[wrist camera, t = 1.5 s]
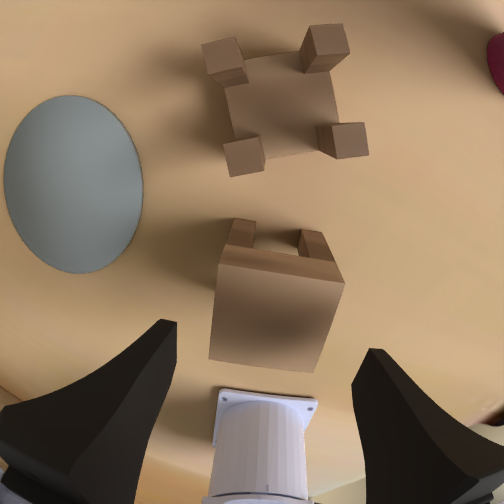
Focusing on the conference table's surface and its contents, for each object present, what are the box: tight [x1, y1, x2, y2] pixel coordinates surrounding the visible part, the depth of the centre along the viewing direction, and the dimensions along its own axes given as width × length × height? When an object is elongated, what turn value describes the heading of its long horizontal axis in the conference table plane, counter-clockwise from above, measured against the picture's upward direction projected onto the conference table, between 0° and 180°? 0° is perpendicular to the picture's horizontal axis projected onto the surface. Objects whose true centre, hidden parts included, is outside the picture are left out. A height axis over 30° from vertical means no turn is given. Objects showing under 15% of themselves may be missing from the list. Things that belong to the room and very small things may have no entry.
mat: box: [4, 96, 143, 274], centre depth 17 cm, size 12×12×1 cm
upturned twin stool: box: [201, 24, 369, 177], centre depth 12 cm, size 5×5×6 cm
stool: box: [208, 218, 345, 373], centre depth 16 cm, size 5×5×6 cm
